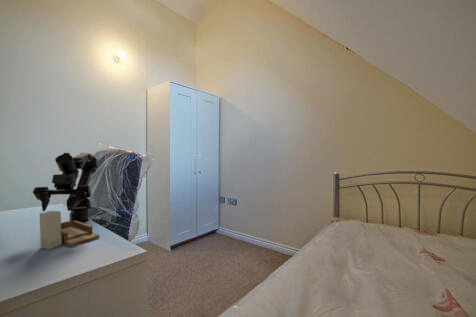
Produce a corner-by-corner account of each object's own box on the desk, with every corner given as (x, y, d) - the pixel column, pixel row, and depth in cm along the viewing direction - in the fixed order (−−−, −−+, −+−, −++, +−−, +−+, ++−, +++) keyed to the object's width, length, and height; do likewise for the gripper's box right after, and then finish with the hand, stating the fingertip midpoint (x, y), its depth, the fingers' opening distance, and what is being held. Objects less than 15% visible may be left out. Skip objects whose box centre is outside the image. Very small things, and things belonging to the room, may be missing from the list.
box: (62, 245, 80) (62, 211, 80) (48, 250, 76) (48, 214, 76) (53, 243, 82) (52, 210, 82) (39, 247, 78) (38, 213, 78)
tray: (73, 228, 98) (73, 219, 98) (99, 237, 88) (99, 228, 88) (46, 235, 89) (46, 226, 89) (70, 247, 79) (70, 236, 79)
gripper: (34, 167, 86) (18, 200, 76) (89, 166, 93) (81, 196, 82) (44, 184, 93) (30, 216, 83) (94, 182, 100) (87, 211, 90)
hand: (57, 209), depth 85 cm, fingers open, 9 cm apart
